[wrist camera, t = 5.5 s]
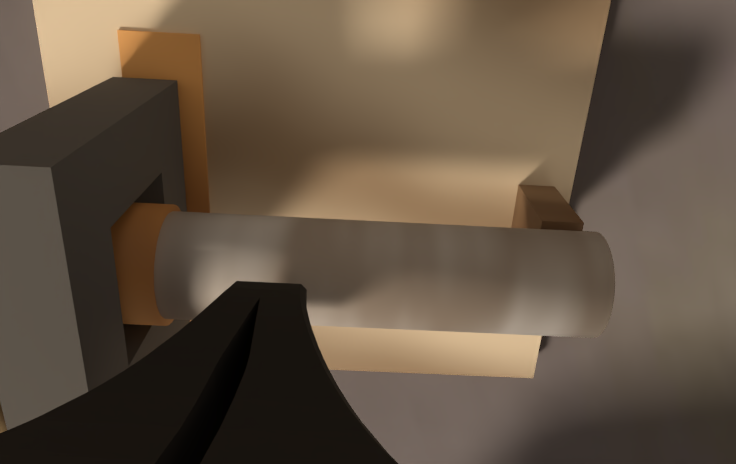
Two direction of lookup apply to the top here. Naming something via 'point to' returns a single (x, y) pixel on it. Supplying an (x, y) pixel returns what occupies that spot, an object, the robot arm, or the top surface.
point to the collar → (78, 238)
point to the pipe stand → (363, 168)
